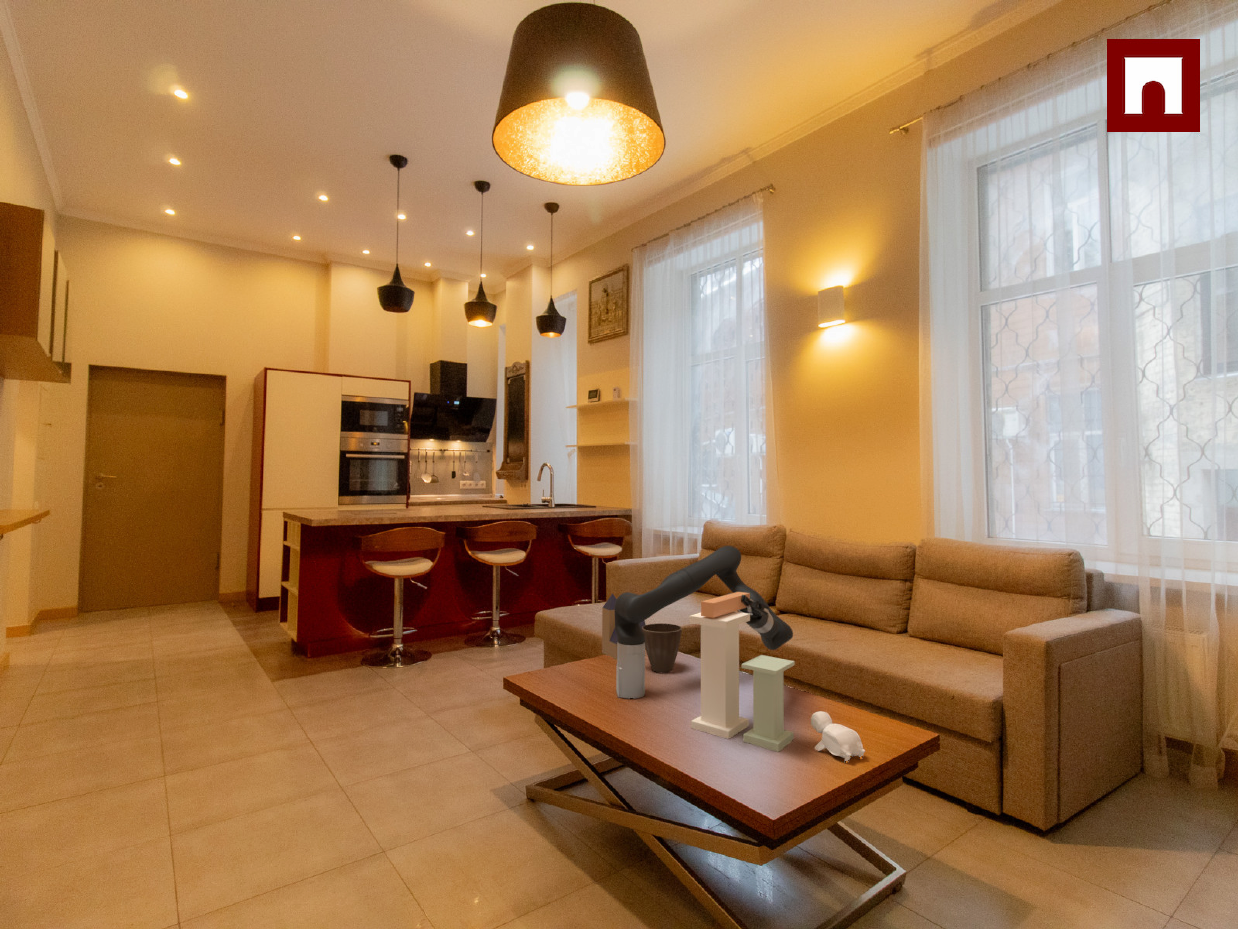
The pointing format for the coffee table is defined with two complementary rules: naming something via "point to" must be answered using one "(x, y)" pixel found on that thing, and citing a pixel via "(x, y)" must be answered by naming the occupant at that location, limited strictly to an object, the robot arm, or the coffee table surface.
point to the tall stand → (720, 674)
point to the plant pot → (662, 645)
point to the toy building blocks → (610, 628)
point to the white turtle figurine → (836, 737)
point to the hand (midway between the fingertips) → (735, 596)
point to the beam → (723, 604)
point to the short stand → (768, 703)
